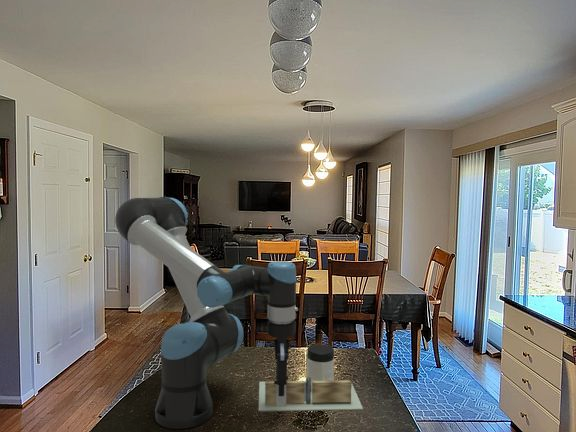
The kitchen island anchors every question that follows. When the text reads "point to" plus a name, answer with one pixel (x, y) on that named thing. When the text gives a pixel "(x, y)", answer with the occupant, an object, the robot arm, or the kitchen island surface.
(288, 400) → the fence panel
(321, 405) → the board
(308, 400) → the hinge post
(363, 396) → the kitchen island surface
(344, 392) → the fixed panel
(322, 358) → the jar
